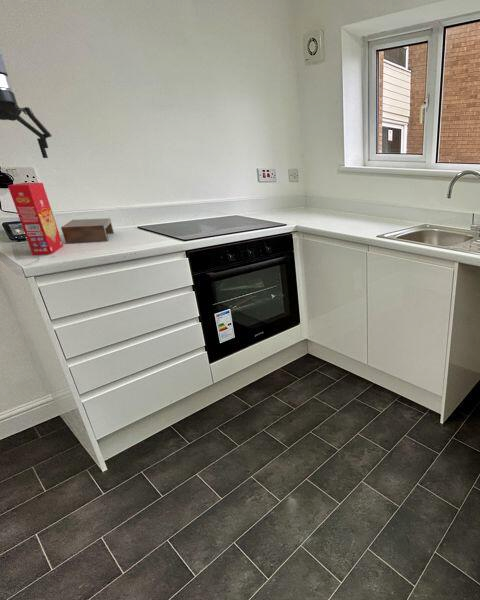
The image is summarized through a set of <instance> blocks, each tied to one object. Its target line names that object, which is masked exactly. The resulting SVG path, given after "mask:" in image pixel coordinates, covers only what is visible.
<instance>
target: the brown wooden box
mask: <svg viewBox="0 0 480 600" xmlns="http://www.w3.org/2000/svg"><path fill="white" fill-rule="evenodd" d="M113 227H114V226H113V224H112V220H111V218H110V217H109V218H84V219H83V218H82V219H71V220H70V221H69V222H67V223H65V224H64V225H62V226H61V227H60V229H61V233H62V236H63V239H64V242H65V245H68V244H85V242H86V243H99V242H101V241H102V242H108V241H109V238H108V234H114V233H115V231H114V228H113Z"/></svg>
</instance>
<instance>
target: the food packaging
mask: <svg viewBox="0 0 480 600" xmlns="http://www.w3.org/2000/svg"><path fill="white" fill-rule="evenodd" d="M7 188H8V190H9V194H10V196H11V199H12V202H13V204H14V206H15V210H16V213H17V216H18V218H19V221H20V225H21V226H22V229H23V233H24V235H25V237H26V240H27V243H28V246H29V249H30V253H31V254H32V256H42V255H43V256H44V255H45V256H46V255H52V254H54V253H56V252H57V251H58V250H60V249H61V248H63V247H64V245H63V240H62V239H61V235H60V232H59V230H58V226H57V223H56V219H55V217H54V214H53V210H52V208H51V204H50V201H49V199H48V195H47V191H46V188H45V186H44V183H43V182H20V183H13V184H8V185H7Z"/></svg>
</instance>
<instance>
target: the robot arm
mask: <svg viewBox="0 0 480 600" xmlns="http://www.w3.org/2000/svg"><path fill="white" fill-rule="evenodd" d="M12 90H13V86H12V83H11V81H10V77H9V74H8V72H7V68H6V65H5V62H4V58H3V56H2V53H1V52H0V120H1V121H11V122H14V121H17V122H19V123H20V124H22V125H23V126H24V127H25V128H27V129H28V130H29V131H31V132H32V133H33V134H35V135H36V136H37V137H38V138H36V140H37V143H38V146H39V149H40V153H41V155H42V158H43V159H48V158H49V156H48V153H47V149H49V145H48V141H47V139H49V138H52V137H53V136H52V134H51V132H50V131H49V130H48V129H47V128H46V127H45V126H44V124H42V122H41V121H40V120H39V119H38V118H37V117H36V116H35V115H34V112H33V110H32V108H30V107H27V106H25V107H19V105H18V101H17V99H16V96H15V93H14V92H13V91H12ZM22 112H23V114H24V115H27V117H29V119H30V120H31V121H32V122H33V123H34V124H35V125H36V127H37V128H38V129H39V130H40V131H39V130H38V129H37V128H36V127H35V126H33V125H31V124H30V123H29V122H28V121H26V120H25V119H24V118H23V117H22V116H20V115H21V114H22Z"/></svg>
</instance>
